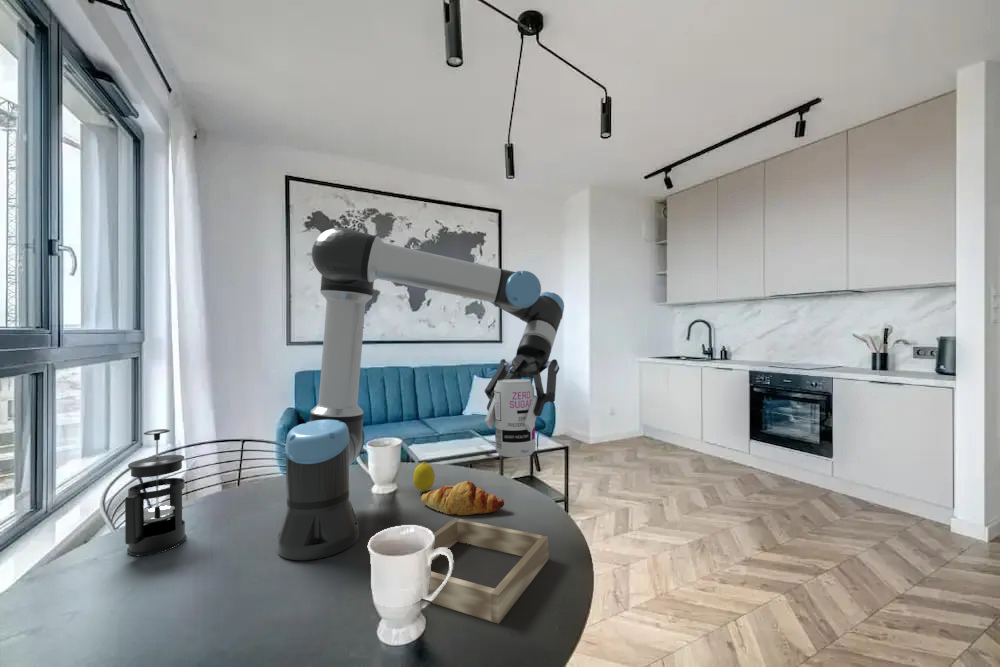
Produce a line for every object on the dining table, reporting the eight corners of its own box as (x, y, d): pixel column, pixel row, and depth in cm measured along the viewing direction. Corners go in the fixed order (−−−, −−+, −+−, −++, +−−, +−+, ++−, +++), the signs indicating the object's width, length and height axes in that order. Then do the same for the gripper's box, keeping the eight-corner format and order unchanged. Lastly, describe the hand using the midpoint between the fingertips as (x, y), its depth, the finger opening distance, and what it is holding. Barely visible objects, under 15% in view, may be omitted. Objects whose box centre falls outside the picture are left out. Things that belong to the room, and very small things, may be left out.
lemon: (430, 496, 112) (429, 465, 112) (410, 495, 113) (409, 464, 113) (437, 489, 117) (437, 459, 117) (418, 488, 118) (417, 458, 118)
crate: (388, 589, 70) (388, 564, 70) (455, 537, 88) (455, 518, 88) (498, 623, 61) (498, 595, 61) (548, 558, 79) (548, 536, 79)
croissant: (416, 524, 104) (408, 500, 100) (431, 491, 112) (424, 468, 109) (502, 531, 98) (496, 505, 95) (511, 496, 107) (506, 471, 103)
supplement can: (511, 446, 96) (510, 378, 96) (543, 451, 91) (541, 379, 91) (487, 454, 90) (486, 381, 90) (519, 460, 84) (518, 383, 84)
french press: (156, 533, 93) (156, 425, 93) (199, 532, 93) (198, 424, 93) (105, 561, 81) (104, 437, 81) (154, 560, 81) (153, 436, 81)
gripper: (583, 355, 99) (562, 441, 85) (501, 355, 109) (469, 432, 94) (576, 331, 95) (552, 418, 80) (491, 334, 104) (456, 412, 90)
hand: (507, 426), depth 87 cm, fingers closed on supplement can, 8 cm apart
